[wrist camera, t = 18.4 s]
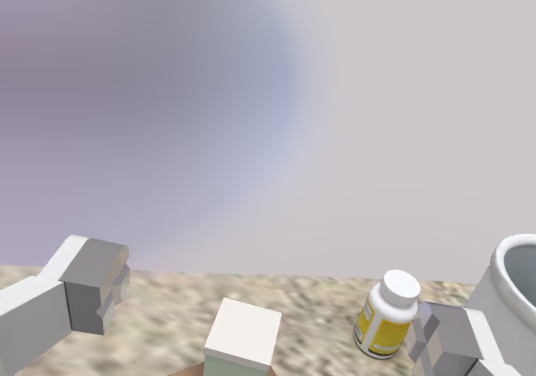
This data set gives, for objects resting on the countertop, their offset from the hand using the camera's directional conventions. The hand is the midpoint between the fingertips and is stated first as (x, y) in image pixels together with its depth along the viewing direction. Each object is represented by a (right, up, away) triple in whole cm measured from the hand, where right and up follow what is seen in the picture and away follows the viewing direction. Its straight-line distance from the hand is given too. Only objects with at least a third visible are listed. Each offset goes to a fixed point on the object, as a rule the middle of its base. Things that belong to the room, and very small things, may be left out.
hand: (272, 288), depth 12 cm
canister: (-3, -17, +26) cm, 31 cm away
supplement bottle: (+13, -16, +39) cm, 44 cm away
